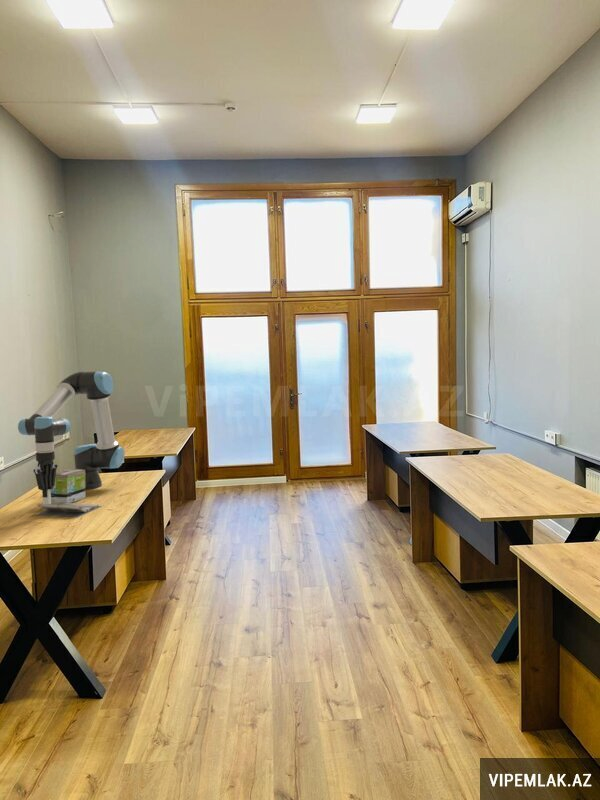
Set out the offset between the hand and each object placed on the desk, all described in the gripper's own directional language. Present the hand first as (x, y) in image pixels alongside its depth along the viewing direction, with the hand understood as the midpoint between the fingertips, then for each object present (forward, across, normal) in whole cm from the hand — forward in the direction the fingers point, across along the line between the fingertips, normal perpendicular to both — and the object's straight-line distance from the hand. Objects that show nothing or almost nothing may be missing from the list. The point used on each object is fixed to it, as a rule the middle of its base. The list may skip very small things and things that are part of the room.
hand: (47, 503), depth 237 cm
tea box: (+5, -24, -7) cm, 25 cm away
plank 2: (+3, -3, +10) cm, 11 cm away
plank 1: (+3, -3, 0) cm, 4 cm away
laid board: (+5, -12, +5) cm, 14 cm away
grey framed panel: (+5, -8, +5) cm, 11 cm away
